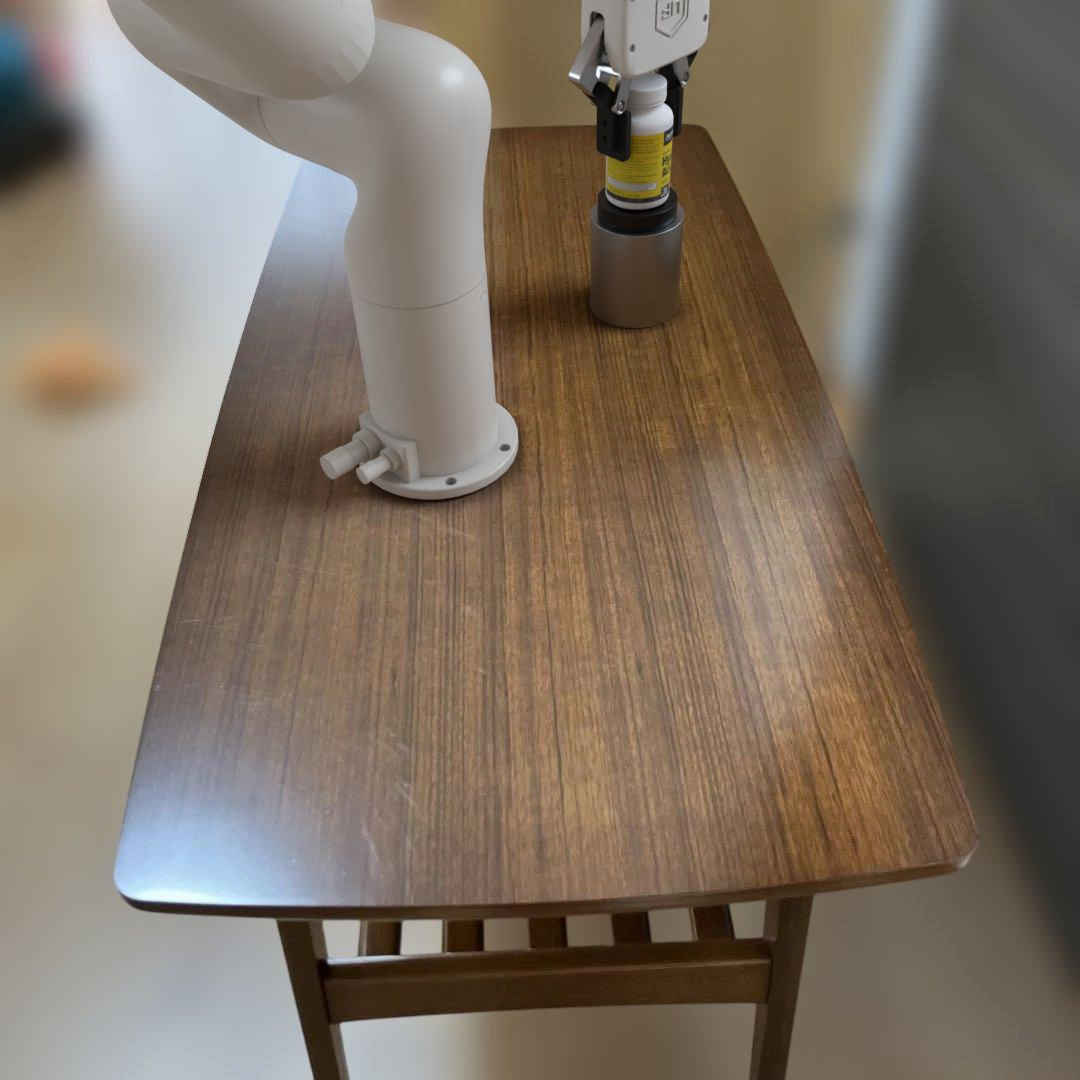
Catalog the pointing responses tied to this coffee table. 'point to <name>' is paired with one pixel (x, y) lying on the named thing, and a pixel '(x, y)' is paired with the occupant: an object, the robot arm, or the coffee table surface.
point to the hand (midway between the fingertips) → (639, 141)
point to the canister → (635, 262)
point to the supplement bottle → (644, 148)
